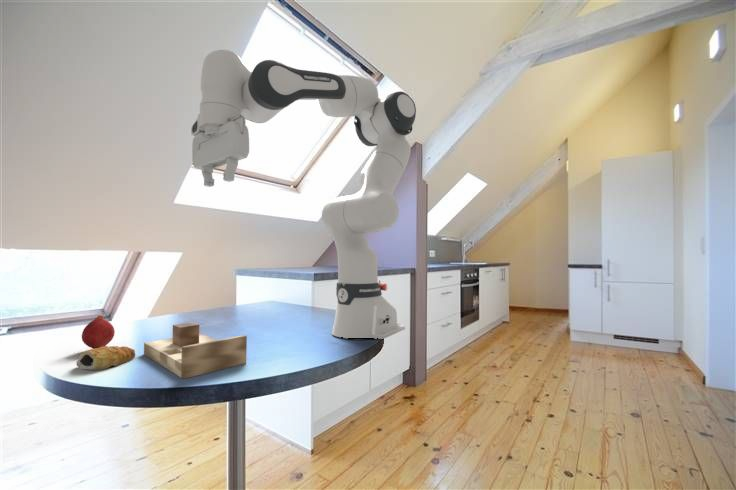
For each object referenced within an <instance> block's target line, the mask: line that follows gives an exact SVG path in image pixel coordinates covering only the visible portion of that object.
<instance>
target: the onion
mask: <svg viewBox="0 0 736 490" xmlns="http://www.w3.org/2000/svg"><path fill="white" fill-rule="evenodd" d="M114 337H115V327H114V326H113V324H112V323H111V322H110V321H109V320H107V319H104V315H103V314H98V315H97V316H96V317H95V318H93V320H91V321H90V322H89V323H88V324H86V326H84V328H83V330H82V333H81V340H82V342H83V344H84V345H86V346H87V347H89V348H90V349H95V348H99V347H102V346H107V345H109V344H110V342H111V341H113V339H114Z"/></svg>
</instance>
